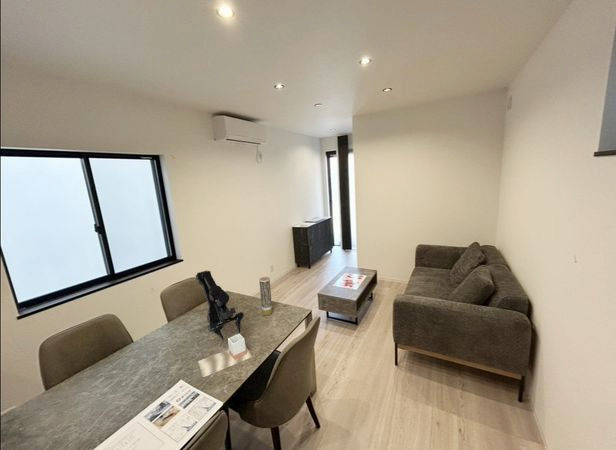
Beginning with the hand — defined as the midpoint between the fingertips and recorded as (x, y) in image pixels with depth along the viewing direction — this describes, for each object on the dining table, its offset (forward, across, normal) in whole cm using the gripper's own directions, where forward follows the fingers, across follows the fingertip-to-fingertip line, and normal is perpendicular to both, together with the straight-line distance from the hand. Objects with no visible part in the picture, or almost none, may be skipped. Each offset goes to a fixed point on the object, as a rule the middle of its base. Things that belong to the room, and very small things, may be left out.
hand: (231, 336), depth 136 cm
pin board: (+9, -6, +2) cm, 11 cm away
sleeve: (+9, 0, +1) cm, 9 cm away
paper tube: (-9, +33, +21) cm, 40 cm away
